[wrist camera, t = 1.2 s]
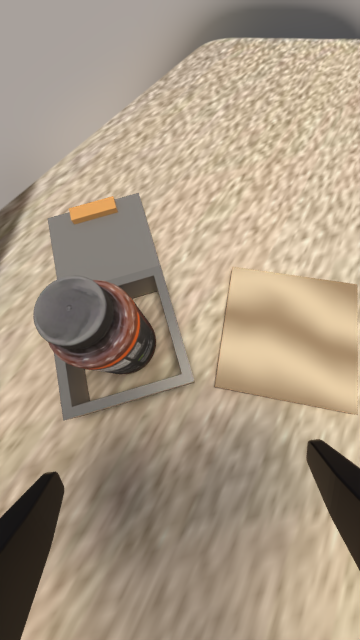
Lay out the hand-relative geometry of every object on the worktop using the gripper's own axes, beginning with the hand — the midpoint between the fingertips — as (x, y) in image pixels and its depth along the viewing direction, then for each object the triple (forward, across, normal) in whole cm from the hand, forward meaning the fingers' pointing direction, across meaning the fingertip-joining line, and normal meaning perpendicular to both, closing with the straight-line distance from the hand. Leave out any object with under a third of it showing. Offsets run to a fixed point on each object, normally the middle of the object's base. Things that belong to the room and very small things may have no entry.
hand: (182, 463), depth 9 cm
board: (+14, -10, +3) cm, 18 cm away
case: (+18, +6, -2) cm, 19 cm away
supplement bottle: (+15, +5, +2) cm, 16 cm away
